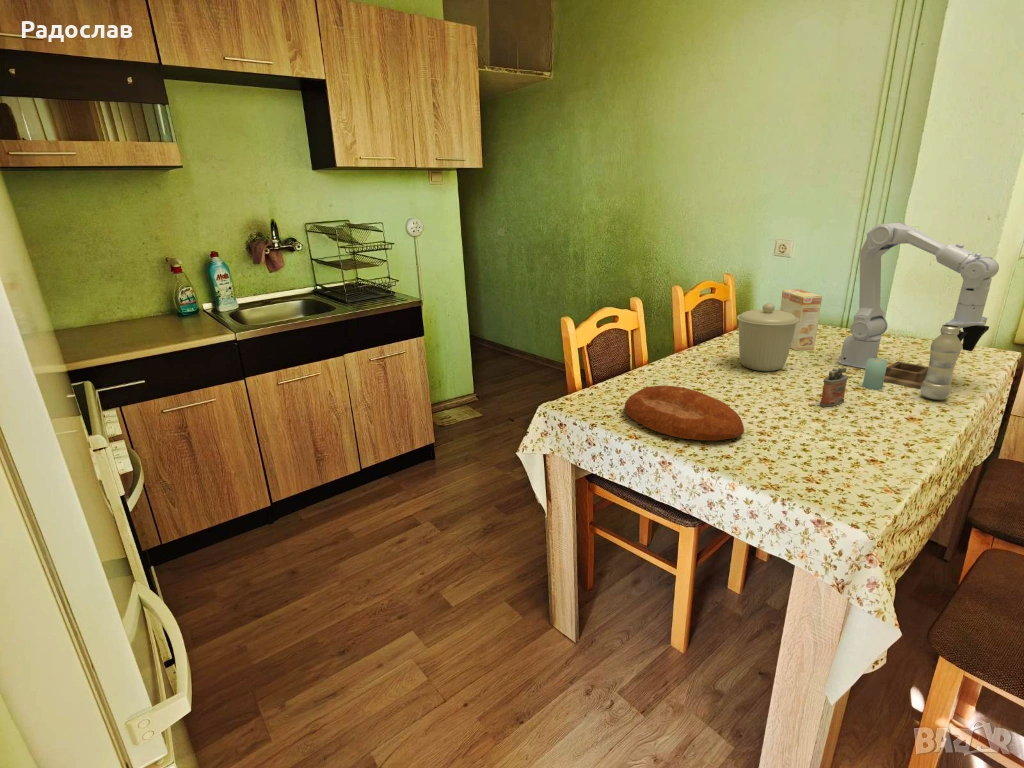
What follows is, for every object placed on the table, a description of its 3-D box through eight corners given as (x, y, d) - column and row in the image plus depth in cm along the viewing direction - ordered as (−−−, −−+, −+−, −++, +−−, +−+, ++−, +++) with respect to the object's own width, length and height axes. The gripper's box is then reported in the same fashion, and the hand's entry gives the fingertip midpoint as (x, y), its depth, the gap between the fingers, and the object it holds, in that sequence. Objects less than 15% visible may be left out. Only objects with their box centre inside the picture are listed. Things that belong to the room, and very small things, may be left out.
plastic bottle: (942, 394, 143) (960, 323, 136) (953, 403, 137) (972, 329, 130) (914, 393, 145) (930, 322, 138) (923, 401, 139) (941, 328, 132)
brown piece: (870, 378, 157) (872, 367, 156) (889, 368, 165) (891, 357, 164) (926, 390, 147) (929, 378, 145) (943, 378, 154) (946, 367, 153)
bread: (652, 396, 153) (653, 367, 150) (761, 426, 130) (766, 393, 127) (603, 419, 139) (604, 388, 136) (716, 457, 117) (720, 421, 114)
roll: (859, 386, 152) (864, 360, 149) (866, 382, 154) (871, 356, 152) (878, 391, 148) (883, 364, 145) (885, 386, 151) (890, 360, 148)
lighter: (828, 409, 138) (834, 373, 135) (816, 405, 141) (821, 369, 137) (847, 402, 141) (853, 367, 138) (834, 398, 144) (840, 364, 141)
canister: (731, 373, 168) (738, 308, 161) (732, 357, 184) (738, 297, 177) (794, 377, 161) (804, 310, 154) (789, 360, 177) (798, 298, 170)
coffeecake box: (814, 350, 187) (823, 295, 180) (794, 350, 187) (802, 296, 181) (794, 339, 201) (801, 288, 194) (775, 340, 201) (781, 289, 195)
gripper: (971, 309, 135) (958, 360, 139) (1005, 303, 140) (991, 352, 144) (941, 305, 141) (929, 353, 146) (974, 299, 146) (962, 346, 150)
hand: (958, 352), depth 145 cm, fingers open, 7 cm apart
